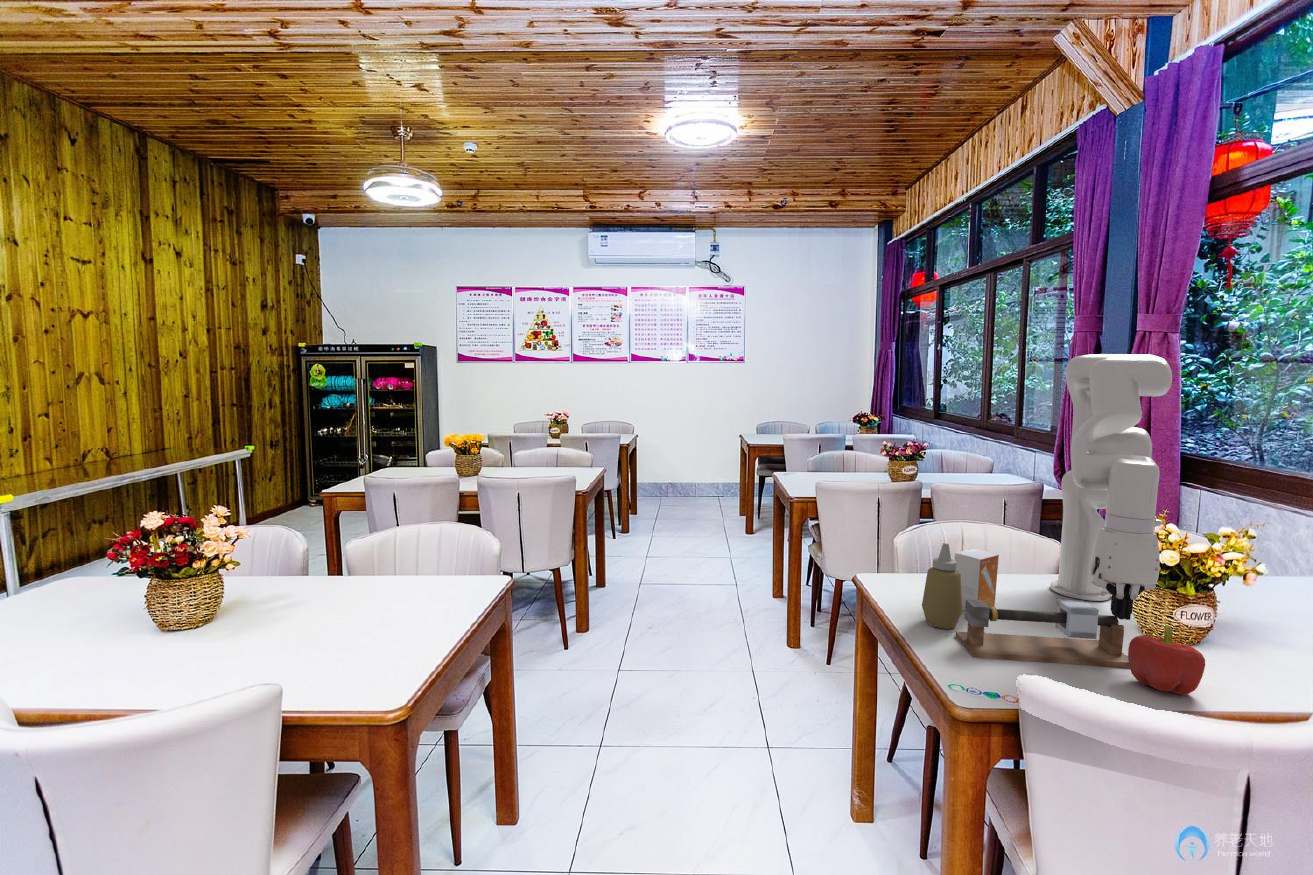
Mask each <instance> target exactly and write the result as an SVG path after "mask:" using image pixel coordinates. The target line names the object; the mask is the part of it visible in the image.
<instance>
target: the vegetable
mask: <svg viewBox="0 0 1313 875" xmlns="http://www.w3.org/2000/svg"><path fill="white" fill-rule="evenodd" d="M1163 628H1164V634H1163V638H1159V637H1157V638H1156V637H1152V636H1148V635H1145V634H1143V635H1136V636H1135V637H1133V638H1132V639H1131V640H1130V642H1129V644H1128V650H1127V656H1128V661H1129V667H1130V668H1129V670H1130V672H1131V675H1132V676H1133V677H1134V678H1135V680H1136V681H1137V682H1139V683H1140V684H1142V685H1145V686H1148V687H1149V686H1150V687H1152V688H1153V689H1155V690H1157V691H1161V692H1172V693H1174V694H1175V695H1177V694H1178V695H1180V696H1181V695H1182V696H1183V695H1189V694H1190V693H1193V692H1195V691H1196V690H1197V689H1198V687H1199V685H1200V683H1201V680H1202V678H1203V675H1204V672H1205V669H1206V659H1205V657H1204V655H1203V654H1202V653H1201V652H1200V651H1199V650H1197V649H1196V648H1194V647H1193V646H1191V645H1190V644H1189V645H1188V644H1179V643H1177V642H1174V641H1173V627H1172V626H1170V625H1168V624H1167V625H1164V627H1163Z"/></svg>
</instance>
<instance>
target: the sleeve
mask: <svg viewBox="0 0 1313 875" xmlns="http://www.w3.org/2000/svg"><path fill="white" fill-rule="evenodd" d="M1099 610H1100V609H1098V608H1097V607H1095V606H1093V604H1090V603H1089V602H1087V600H1073V599H1057V605H1056V613H1067V623H1066V624H1064V623H1055V629H1057V630H1058V631H1059V632H1061V633H1062V634H1063V635H1064V636H1066V638H1072V639H1088V640H1097V635H1098V634H1097V632H1098V615H1099Z"/></svg>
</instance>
